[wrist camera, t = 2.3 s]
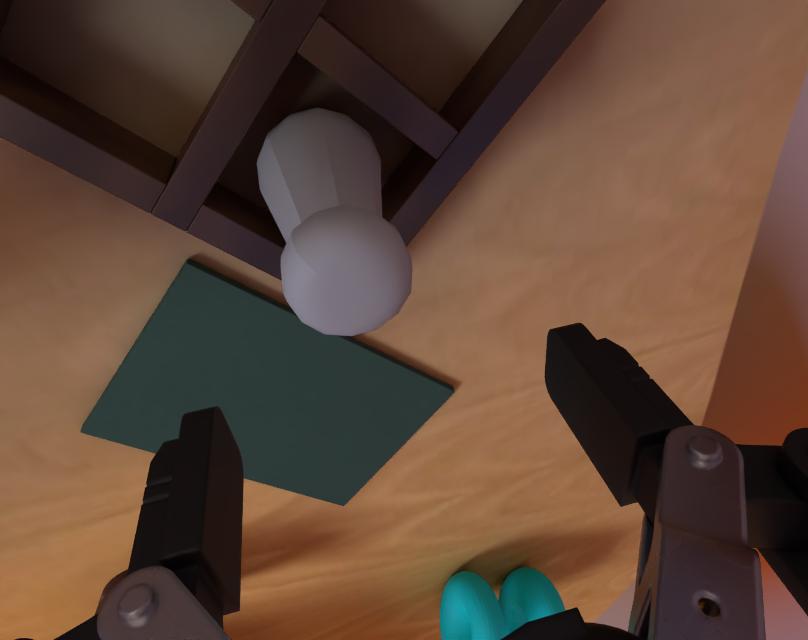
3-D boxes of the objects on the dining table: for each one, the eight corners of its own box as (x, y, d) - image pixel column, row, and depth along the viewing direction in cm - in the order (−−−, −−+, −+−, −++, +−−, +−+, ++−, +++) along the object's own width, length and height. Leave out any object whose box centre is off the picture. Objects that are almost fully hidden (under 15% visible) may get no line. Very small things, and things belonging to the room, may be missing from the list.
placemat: (82, 425, 33) (79, 432, 32) (188, 257, 28) (186, 263, 28) (342, 500, 43) (343, 506, 43) (452, 386, 38) (455, 391, 38)
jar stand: (-67, 60, 21) (-116, 79, 18) (161, -593, 14) (138, -722, 11) (342, 282, 31) (350, 316, 28) (589, -35, 24) (632, -32, 22)
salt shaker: (359, 84, 25) (431, 184, 15) (382, 194, 29) (453, 338, 18) (238, 113, 25) (226, 237, 14) (277, 222, 28) (289, 384, 18)
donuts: (507, 598, 60) (545, 697, 52) (427, 605, 57) (454, 712, 49) (543, 546, 55) (591, 648, 47) (457, 551, 52) (493, 661, 44)
